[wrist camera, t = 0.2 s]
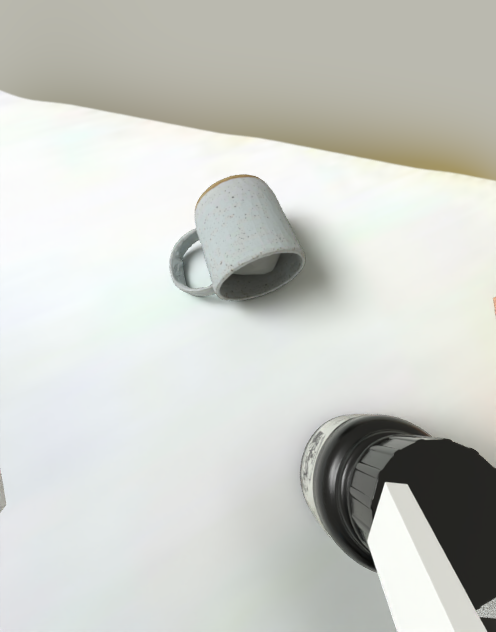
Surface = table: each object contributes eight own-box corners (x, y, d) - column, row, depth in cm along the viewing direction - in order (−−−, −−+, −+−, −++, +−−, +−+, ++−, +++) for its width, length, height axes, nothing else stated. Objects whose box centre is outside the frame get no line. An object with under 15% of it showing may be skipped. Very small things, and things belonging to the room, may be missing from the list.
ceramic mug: (266, 210, 33) (272, 152, 25) (298, 283, 31) (316, 242, 23) (161, 244, 32) (137, 192, 24) (188, 322, 29) (170, 292, 22)
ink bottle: (327, 391, 28) (391, 374, 17) (427, 442, 27) (567, 462, 16) (277, 506, 25) (311, 582, 14) (385, 567, 25) (516, 703, 13)
